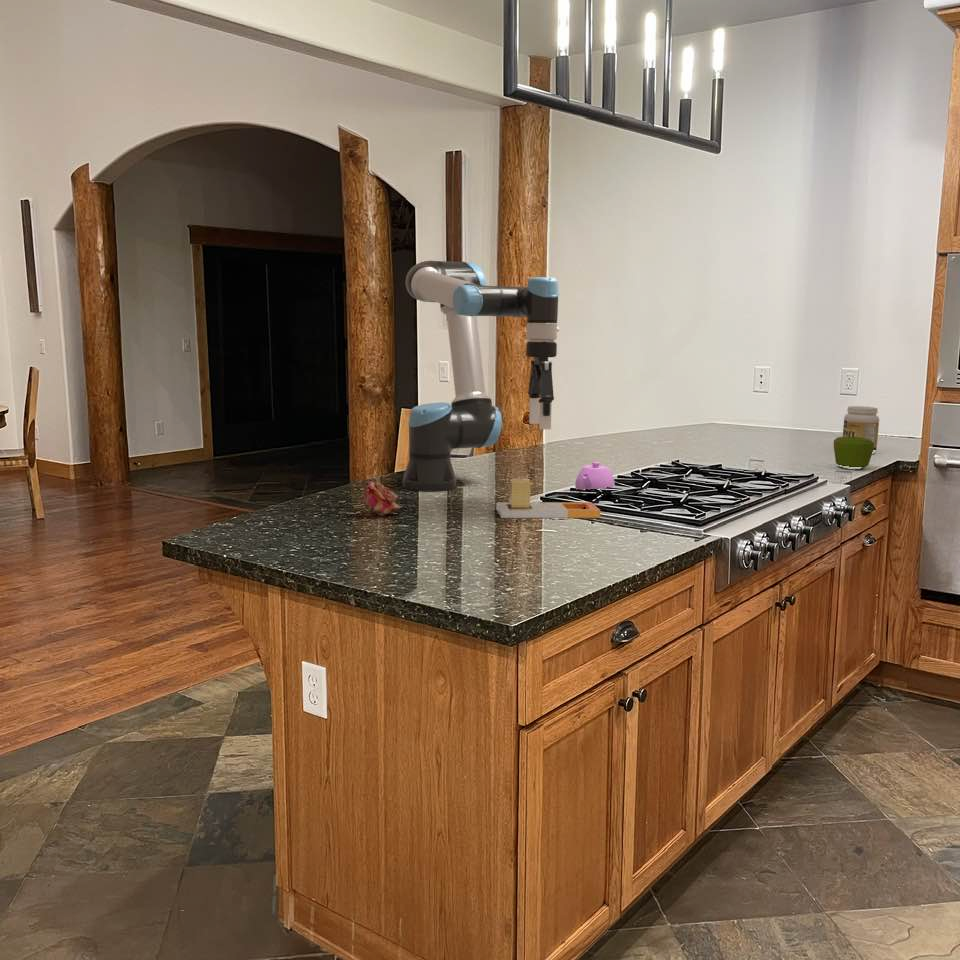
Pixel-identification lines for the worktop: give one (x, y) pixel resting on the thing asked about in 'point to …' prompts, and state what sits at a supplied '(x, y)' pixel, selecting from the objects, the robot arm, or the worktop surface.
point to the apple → (853, 451)
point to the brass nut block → (519, 494)
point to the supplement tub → (862, 423)
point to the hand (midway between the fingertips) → (539, 426)
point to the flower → (380, 499)
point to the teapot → (594, 477)
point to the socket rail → (550, 510)
